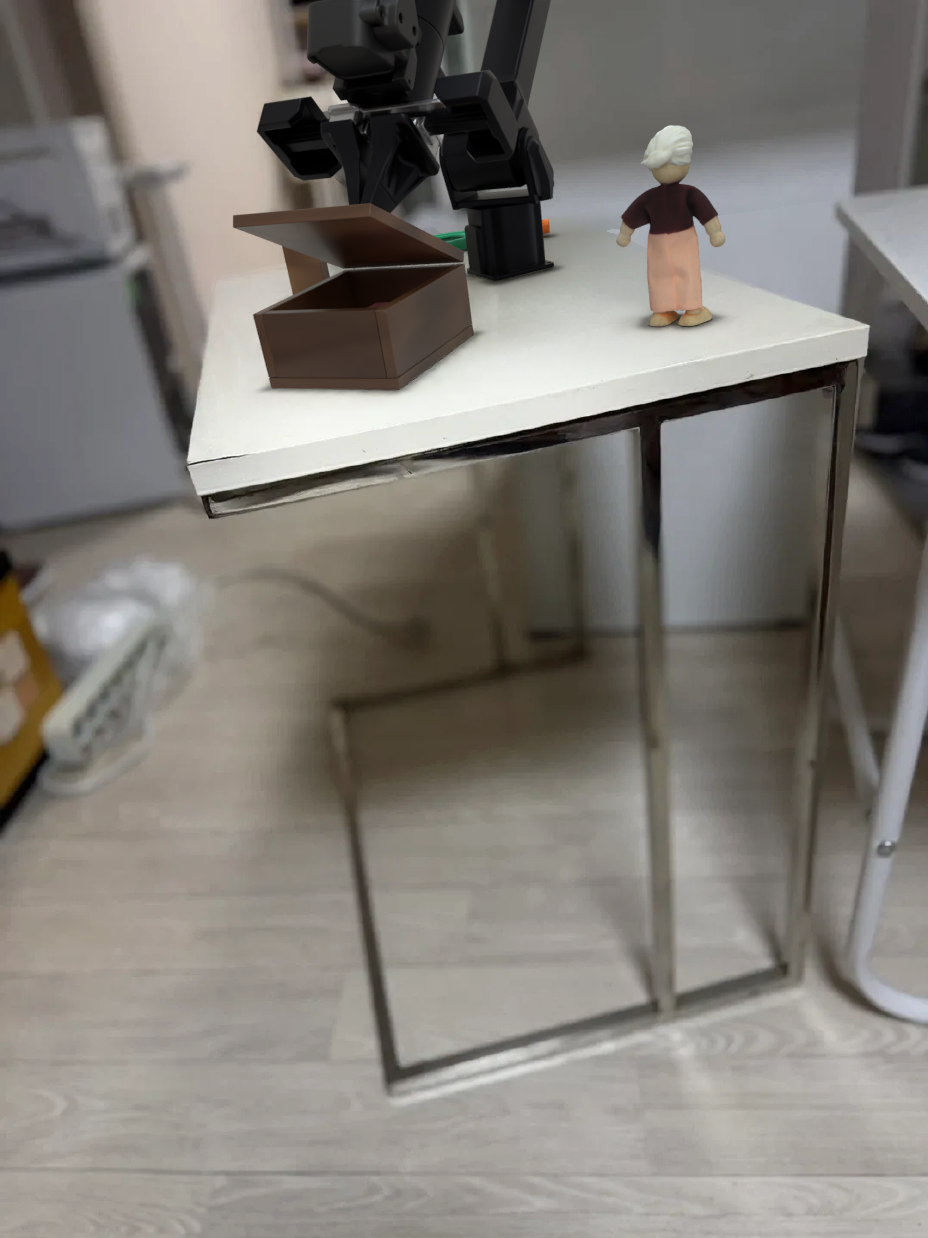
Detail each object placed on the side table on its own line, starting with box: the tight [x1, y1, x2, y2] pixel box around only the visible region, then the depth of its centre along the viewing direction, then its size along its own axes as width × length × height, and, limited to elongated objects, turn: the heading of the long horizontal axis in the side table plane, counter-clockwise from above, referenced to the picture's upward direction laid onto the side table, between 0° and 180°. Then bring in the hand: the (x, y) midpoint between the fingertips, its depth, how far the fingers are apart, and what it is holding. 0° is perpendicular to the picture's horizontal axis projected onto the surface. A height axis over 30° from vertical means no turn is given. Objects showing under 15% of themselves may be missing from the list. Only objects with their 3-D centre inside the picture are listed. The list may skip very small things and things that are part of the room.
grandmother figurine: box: [615, 125, 726, 327], centre depth 64 cm, size 8×4×13 cm, turn 71°
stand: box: [281, 246, 331, 295], centre depth 90 cm, size 3×3×7 cm
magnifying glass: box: [432, 218, 551, 251], centre depth 103 cm, size 15×6×2 cm, turn 87°
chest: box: [252, 263, 475, 391], centre depth 67 cm, size 13×11×5 cm
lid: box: [232, 203, 465, 270], centre depth 64 cm, size 13×11×1 cm
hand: (359, 234), depth 65 cm, fingers closed
